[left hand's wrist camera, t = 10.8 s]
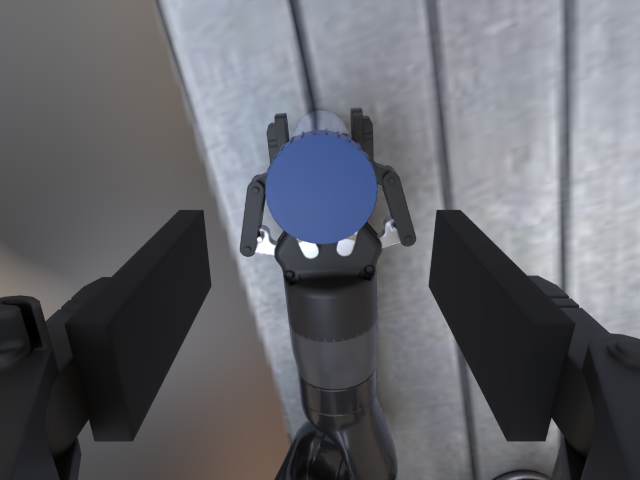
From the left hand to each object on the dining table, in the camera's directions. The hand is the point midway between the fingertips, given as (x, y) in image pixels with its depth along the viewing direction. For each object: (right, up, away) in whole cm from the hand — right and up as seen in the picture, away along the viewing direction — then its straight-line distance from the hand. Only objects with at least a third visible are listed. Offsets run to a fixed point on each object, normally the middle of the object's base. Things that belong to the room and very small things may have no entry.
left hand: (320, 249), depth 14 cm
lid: (0, +3, +7) cm, 7 cm away
